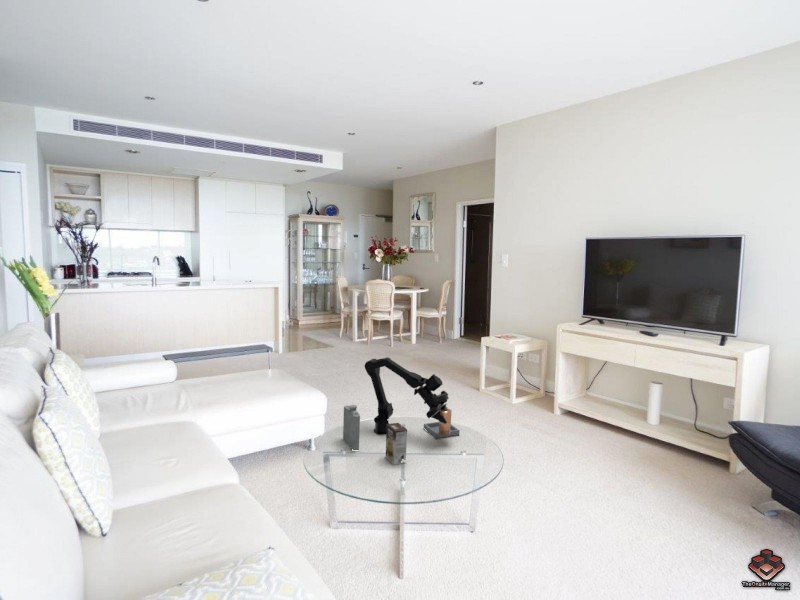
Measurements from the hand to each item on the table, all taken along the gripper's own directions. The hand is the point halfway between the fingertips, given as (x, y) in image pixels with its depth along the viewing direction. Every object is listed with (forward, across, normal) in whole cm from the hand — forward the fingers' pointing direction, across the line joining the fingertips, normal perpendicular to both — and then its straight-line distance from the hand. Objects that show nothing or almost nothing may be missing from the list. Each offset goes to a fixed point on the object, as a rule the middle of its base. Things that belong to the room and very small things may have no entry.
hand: (447, 421), depth 233 cm
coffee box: (-3, -27, +21) cm, 34 cm away
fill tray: (+4, +14, +14) cm, 20 cm away
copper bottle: (+4, 0, +6) cm, 7 cm away
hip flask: (-21, -21, +39) cm, 49 cm away
